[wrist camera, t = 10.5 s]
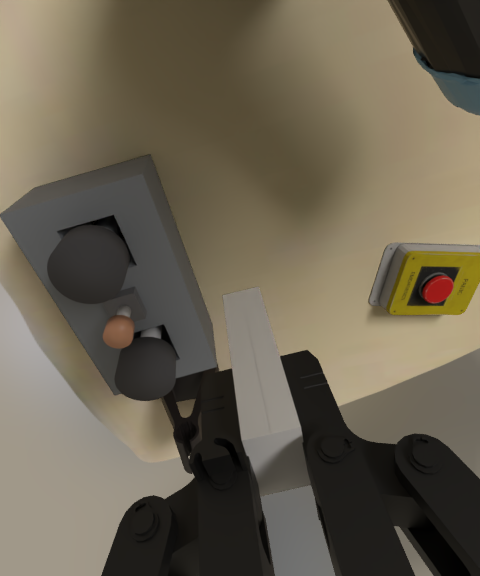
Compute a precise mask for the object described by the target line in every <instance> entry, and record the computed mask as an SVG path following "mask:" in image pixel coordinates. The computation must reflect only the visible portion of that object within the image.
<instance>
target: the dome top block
mask: <svg viewBox="0 0 480 576" xmlns="http://www.w3.org/2000/svg"><path fill="white" fill-rule="evenodd" d="M103 305H104V307H105V308H106V310H107V312H108V314H109V316H110V317H111V318H109V319H108V321H107V323H106V326H105V330H104V333H103V340H104V342H105V343H106V344H107V345H108V346H110V347H112V348H117V349H120V348H125V347H127V346H129V345H130V344H131V342H132V340H133V335H134V329H135V324H134V322H136V321H139V320H143V319H146V315H147V310H146V308H145V306H144V304H143V302H142V300H141V298H140V296H139V294H138V292H137V289H136V287H132V288H128V289H125V290H121V291H120V292H119V293H118V294H117V295H116V296H115V297H113V298H112V299H110V300H108V301H106V302H103Z"/></svg>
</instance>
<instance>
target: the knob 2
mask: <svg viewBox="0 0 480 576" xmlns="http://www.w3.org/2000/svg"><path fill="white" fill-rule="evenodd" d="M161 332H162V325H159V326H156V327H152V328H149V329H145V330H142V331H141V336H140V338H136V339H133V340H132V342H131V344H130V345H129V346H127V347H125V348H122V349H121V352H120V355H119V360H118V364H117V369H116V373H115V379H114V380H115V385H116V387H117V389H118V390H119V391H120V392H121V393H122V394H123V395H125V396H127V397H129V398H131V399H134V400H140V401H150V400H156V399H159V398H161V397H163V396H165V395H167V394H168V393H169V392H170V391H171V390H172V389H173V387H174V385H175V381H176V353H175V351H174V349H173V348H172V346H171V345H170V344H169V343H167V342H166V341H164V340H162V339H161Z"/></svg>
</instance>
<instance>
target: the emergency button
mask: <svg viewBox="0 0 480 576" xmlns="http://www.w3.org/2000/svg"><path fill="white" fill-rule="evenodd" d="M479 282H480V245H460V244H427V243H391V244H389V245H388V246H387V247H386V248H385V250H384V253H383V257H382V260H381V263H380V266H379V269H378V272H377V275H376V279H375V282H374V285H373V288H372V291H371V294H370V297H369V303H370V304H371V305H374V306H382V307H383V308H384V309H386V310H387V312H389V313H390V314H392V315H460V314H462V313H464V312H465V310H466V309H467V307H468V305H469V303H470V301H471V299H472V297H473V295H474V293H475V290H476V288H477V286H478V284H479Z"/></svg>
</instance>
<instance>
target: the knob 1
mask: <svg viewBox="0 0 480 576" xmlns="http://www.w3.org/2000/svg"><path fill="white" fill-rule="evenodd" d="M120 230H121V229H120V227H119V225H118V223H117V221H116V219H115V216H114V215H111V216H108V217H104V218H101V219H99V221H98V223H97V225H82V226H78V227H76V228H73V229H72V230H70V231H69V232H67V233H66V234H65V235H64V237H63V238H62V240H61V241H60V242H59V244H58V245H57V246H56V248H55V249H54V251H53V252H52V253H51V255H50V257H49V259H48V263H47V272H48V276H49V279H50V281H51V283H52V284H53V286H54V287H55V288H56V289H57V290H58V291H59V292H60V293H61V294H62V295H64V296H65V297H67V298H69V299H71V300H73V301H76V302H79V303H84V304H98V303H103V302H106V301H108V300H110V299H112V298H113V297H115V296H116V295H117V294H118V293H119V292H120V290H121V288H122V286H123V284H124V281H125V277H126V273H127V270H128V266H129V260H130V258H129V252H128V249H127V247H126V245H125V243H124V242H123V240H122V239H121V238H120V237H119V236H118V235H119V232H120Z"/></svg>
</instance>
